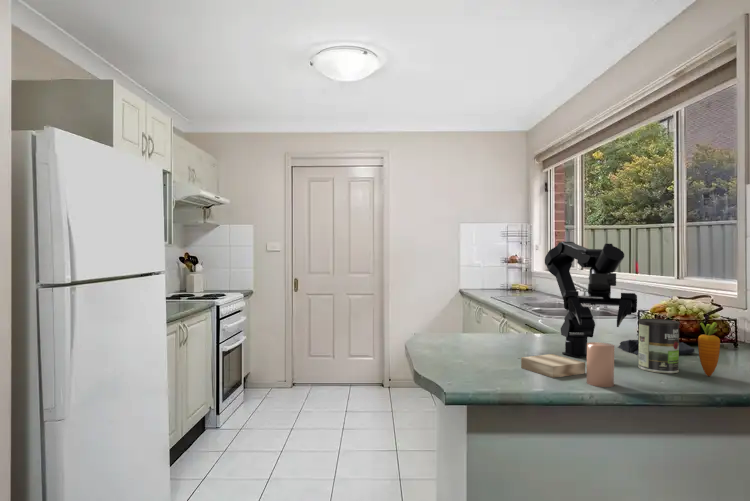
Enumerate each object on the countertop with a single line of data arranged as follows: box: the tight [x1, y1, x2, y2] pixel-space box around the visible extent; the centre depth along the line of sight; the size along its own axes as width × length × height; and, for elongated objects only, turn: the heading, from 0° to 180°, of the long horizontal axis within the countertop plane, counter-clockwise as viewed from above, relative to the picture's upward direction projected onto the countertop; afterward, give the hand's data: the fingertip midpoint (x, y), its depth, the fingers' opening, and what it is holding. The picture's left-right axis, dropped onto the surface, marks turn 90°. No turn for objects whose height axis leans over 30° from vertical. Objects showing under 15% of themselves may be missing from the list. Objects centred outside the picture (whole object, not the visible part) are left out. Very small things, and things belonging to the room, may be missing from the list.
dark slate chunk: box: [617, 339, 696, 356], centre depth 166 cm, size 15×22×5 cm
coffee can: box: [637, 318, 681, 374], centre depth 140 cm, size 10×10×14 cm
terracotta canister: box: [586, 341, 615, 388], centre depth 124 cm, size 6×6×10 cm
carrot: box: [697, 321, 721, 377], centre depth 132 cm, size 5×5×15 cm
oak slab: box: [520, 353, 586, 379], centre depth 137 cm, size 12×12×3 cm
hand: (598, 325), depth 131 cm, fingers open, 9 cm apart
